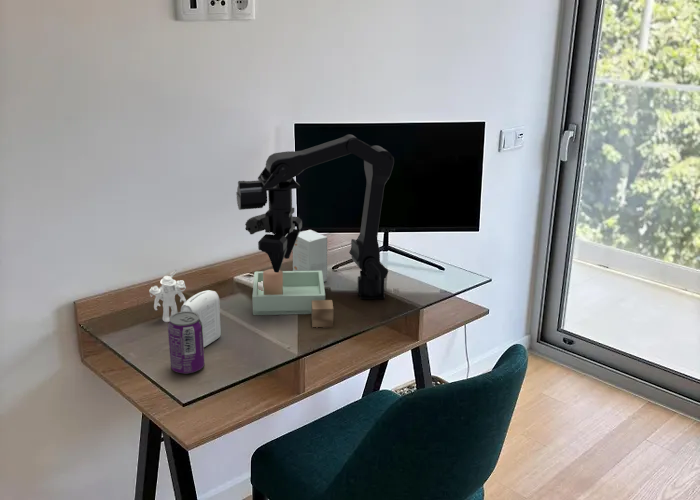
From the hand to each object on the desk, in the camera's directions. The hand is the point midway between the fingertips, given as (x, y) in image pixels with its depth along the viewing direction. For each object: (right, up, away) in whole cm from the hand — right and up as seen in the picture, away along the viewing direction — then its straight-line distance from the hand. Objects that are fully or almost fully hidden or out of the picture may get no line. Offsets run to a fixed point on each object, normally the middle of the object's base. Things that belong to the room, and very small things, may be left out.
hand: (281, 265), depth 183 cm
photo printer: (-17, -18, -16) cm, 29 cm away
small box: (+6, -5, +20) cm, 21 cm away
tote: (+1, -9, +6) cm, 11 cm away
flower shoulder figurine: (-27, -13, -5) cm, 30 cm away
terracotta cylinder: (-3, -9, +5) cm, 11 cm away
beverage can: (-18, -22, -26) cm, 39 cm away
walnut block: (+10, -14, -5) cm, 18 cm away
